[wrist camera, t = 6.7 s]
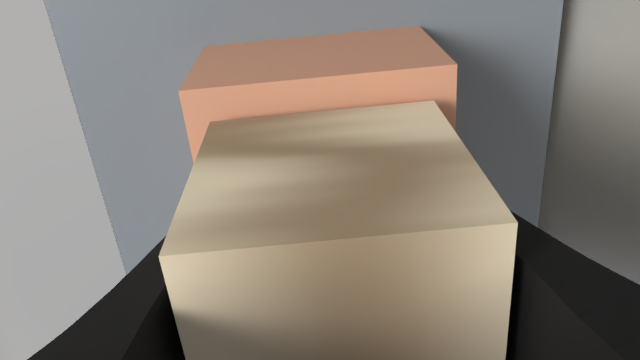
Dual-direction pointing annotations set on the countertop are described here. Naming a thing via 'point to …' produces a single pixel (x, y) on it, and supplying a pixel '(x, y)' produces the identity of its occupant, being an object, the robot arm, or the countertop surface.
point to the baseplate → (280, 23)
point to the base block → (316, 77)
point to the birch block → (340, 241)
